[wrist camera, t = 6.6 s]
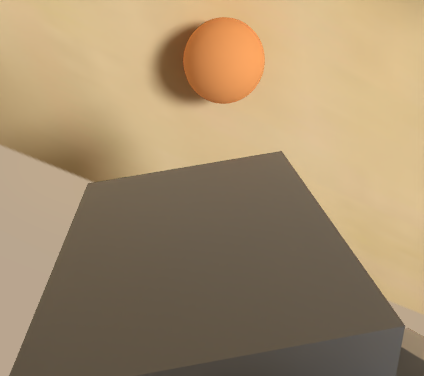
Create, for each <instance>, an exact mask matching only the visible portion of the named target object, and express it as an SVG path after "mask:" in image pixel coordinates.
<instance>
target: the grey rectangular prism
mask: <svg viewBox="0 0 424 376" xmlns="http://www.w3.org/2000/svg"><path fill="white" fill-rule="evenodd" d="M404 329H405V325H404V324H403V322H402V321H401V319H400V318H399V317H398V315H397V314H396V312H395V311H394V310H393V308H392V307H391V305H390V304H389V302H388V301H387V300H386V298H385V297H384V295H383V294H382V293H381V291H380V290H379V288H378V287H377V285H376V284H375V283H374V281H373V280H372V278H371V277H370V276H369V274H368V273H367V271H366V270H365V269H364V267H363V266H362V264H361V263H360V261H359V260H358V259H357V257H356V256H355V254H354V253H353V252H352V250H351V249H350V247H349V246H348V244H347V243H346V242H345V240H344V239H343V237H342V236H341V235H340V233H339V232H338V230H337V229H336V227H335V226H334V225H333V223H332V222H331V220H330V219H329V218H328V216H327V215H326V213H325V212H324V211H323V209H322V208H321V206H320V205H319V203H318V202H317V201H316V199H315V198H314V196H313V195H312V194H311V192H310V191H309V189H308V188H307V186H306V185H305V184H304V182H303V181H302V179H301V178H300V177H299V175H298V174H297V172H296V171H295V169H294V168H293V167H292V165H291V164H290V162H289V161H288V160H287V158H286V157H285V155H284V154H283V153H282V151H280V152H274V153H268V154H262V155H256V156H250V157H244V158H238V159H232V160H226V161H220V162H214V163H208V164H202V165H196V166H190V167H184V168H178V169H172V170H166V171H160V172H154V173H148V174H142V175H136V176H130V177H124V178H118V179H112V180H106V181H100V182H94V183H88V185H87V187H86V190H85V192H84V195H83V197H82V199H81V202H80V204H79V207H78V209H77V212H76V214H75V216H74V219H73V221H72V224H71V226H70V229H69V231H68V234H67V236H66V239H65V241H64V243H63V246H62V248H61V251H60V253H59V256H58V258H57V260H56V263H55V266H54V268H53V270H52V273H51V275H50V278H49V280H48V283H47V285H46V287H45V290H44V292H43V295H42V297H41V299H40V302H39V304H38V307H37V309H36V312H35V314H34V317H33V319H32V322H31V324H30V326H29V329H28V331H27V334H26V336H25V339H24V341H23V344H22V346H21V348H20V351H19V353H18V356H17V358H16V361H15V363H14V365H13V368H12V370H11V373H10V375H9V376H396V372H397V367H398V361H399V356H400V351H401V345H402V340H403V335H404Z"/></svg>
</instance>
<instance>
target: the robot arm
mask: <svg viewBox="0 0 424 376" xmlns="http://www.w3.org/2000/svg"><path fill="white" fill-rule="evenodd" d="M396 376H424V336H422V335H420V334H418V333H417V332H415V331H413V330H411V329H409V328H406V329H404V335H403V340H402V345H401V351H400V356H399V361H398V367H397V372H396Z"/></svg>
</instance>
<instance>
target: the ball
mask: <svg viewBox="0 0 424 376" xmlns="http://www.w3.org/2000/svg"><path fill="white" fill-rule="evenodd" d="M264 64H265V57H264V50H263V46H262V44H261V41H260V39H259V37H258V36H257V34H256V33H255V32H254V31H253V30H252V29H251V28H250V27H249V26H248V25H247V24H245V23H243V22H242V21H240V20H237V19H233V18H225V17H222V18H215V19H212V20H209V21H207V22H205V23H203V24H202V25H201V26H199V27H198V28H197V29H196V30H195V31H194V32H193V34H192V35H191V36H190V38H189V40H188V42H187V44H186V47H185V50H184V56H183V66H184V72H185V75H186V78H187V80H188V82H189V84H190V85H191V87H192V88H193V90H194V91H195V92H196V93H197V94H199V95H200V96H201V97H203V98H204V99H206V100H209V101H211V102H214V103H221V104H226V103H232V102H236V101H238V100H241V99H243V98H244V97H246V96H247V95H249V94H250V93H251V92H252V91H253V90H254V89H255V87H256V86H257V84H258V83H259V81H260V79H261V76H262V74H263V70H264Z"/></svg>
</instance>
